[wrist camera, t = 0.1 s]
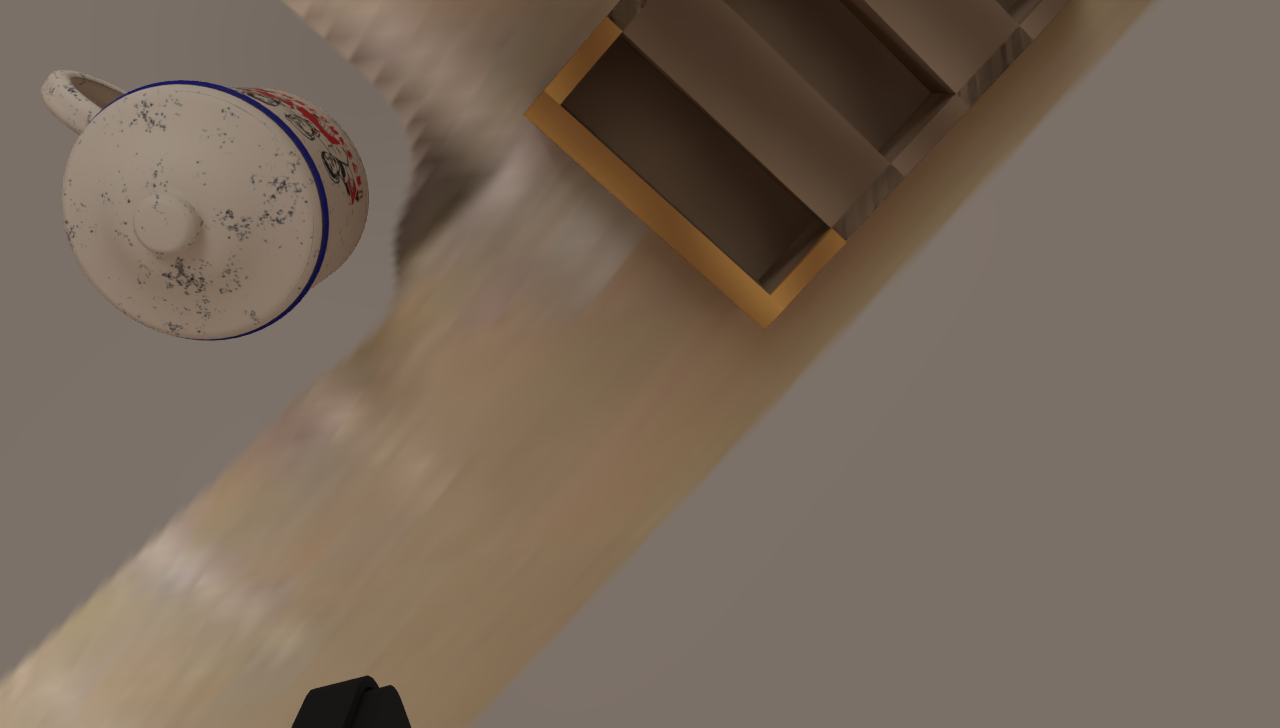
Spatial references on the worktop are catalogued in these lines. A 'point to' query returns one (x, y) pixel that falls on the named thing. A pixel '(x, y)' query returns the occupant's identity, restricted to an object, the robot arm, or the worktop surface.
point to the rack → (773, 119)
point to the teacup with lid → (205, 200)
